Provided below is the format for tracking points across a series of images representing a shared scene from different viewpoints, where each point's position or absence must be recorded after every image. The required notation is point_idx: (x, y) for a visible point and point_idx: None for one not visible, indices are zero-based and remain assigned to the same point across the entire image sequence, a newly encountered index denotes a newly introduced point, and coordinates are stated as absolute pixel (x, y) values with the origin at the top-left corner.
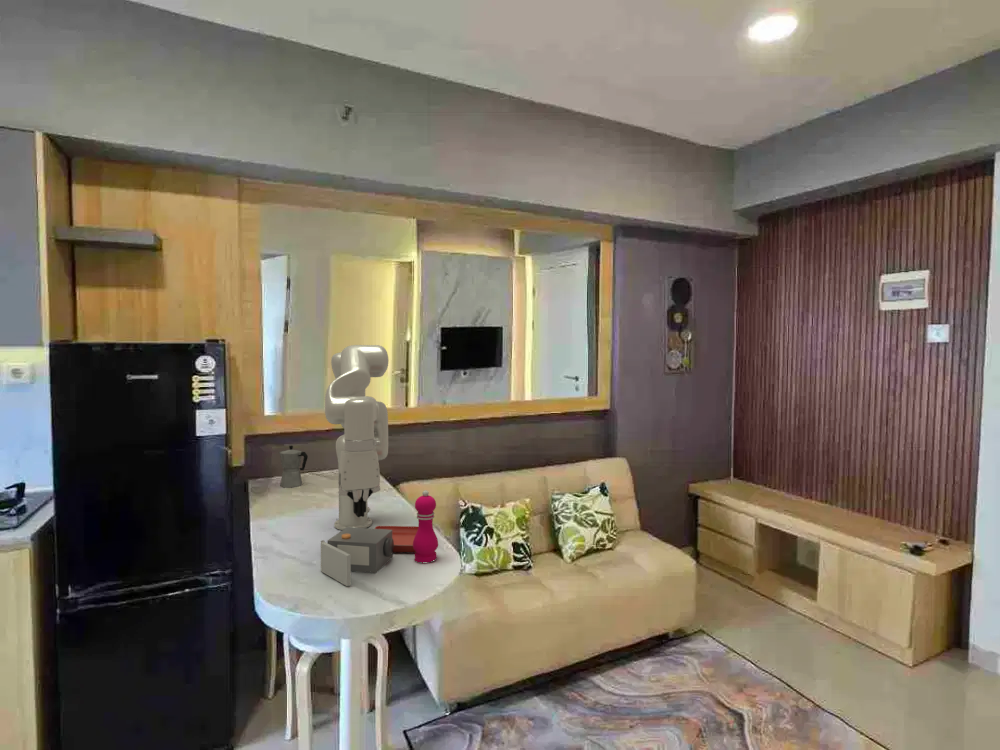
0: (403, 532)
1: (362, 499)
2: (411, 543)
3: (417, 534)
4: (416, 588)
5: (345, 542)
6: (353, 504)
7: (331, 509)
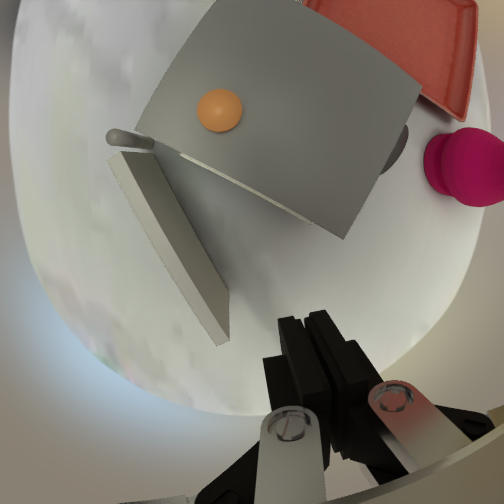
0: None
1: (357, 452)
2: (428, 39)
3: (481, 175)
4: (377, 337)
5: (214, 168)
6: (270, 400)
7: None
